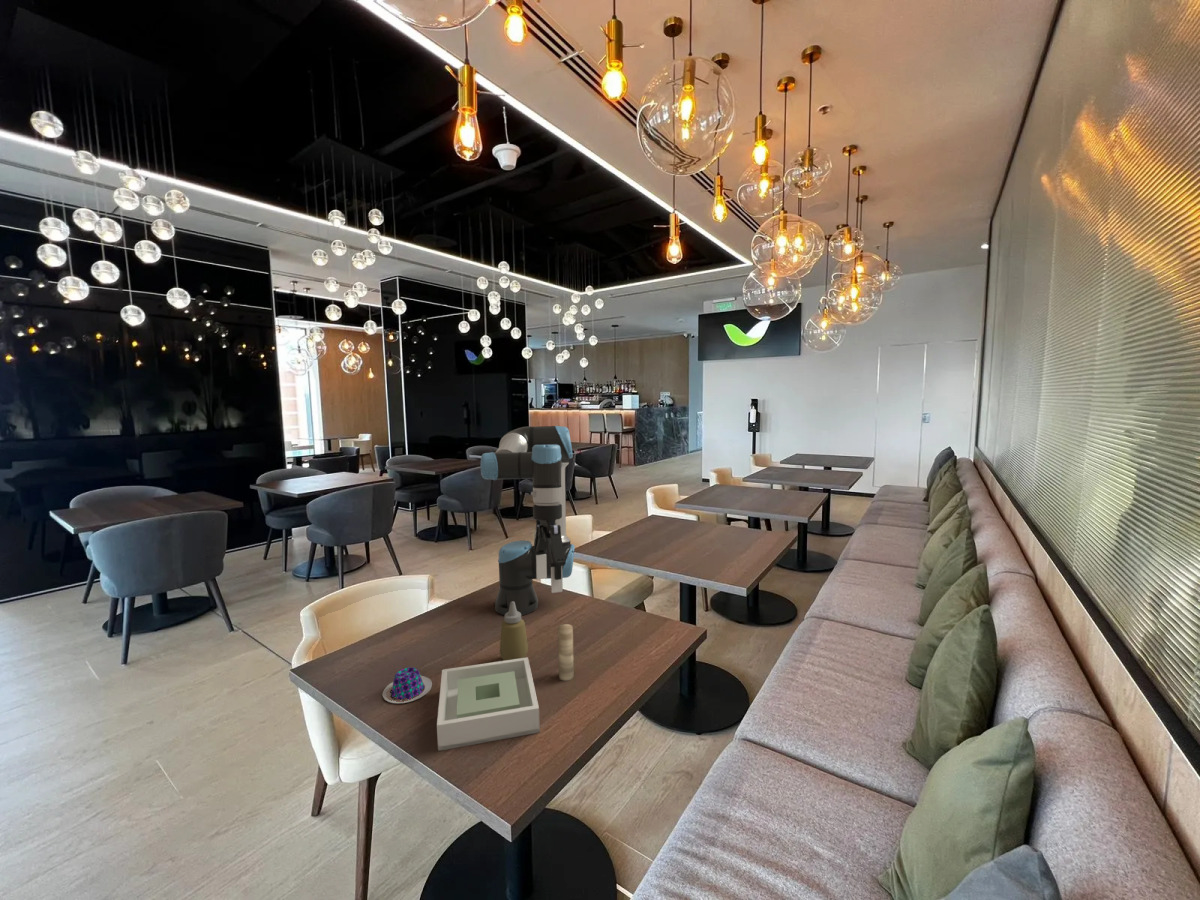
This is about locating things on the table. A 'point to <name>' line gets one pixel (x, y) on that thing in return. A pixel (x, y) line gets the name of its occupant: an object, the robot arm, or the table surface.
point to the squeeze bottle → (513, 635)
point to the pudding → (408, 685)
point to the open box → (489, 724)
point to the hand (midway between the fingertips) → (548, 585)
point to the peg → (565, 652)
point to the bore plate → (487, 694)
